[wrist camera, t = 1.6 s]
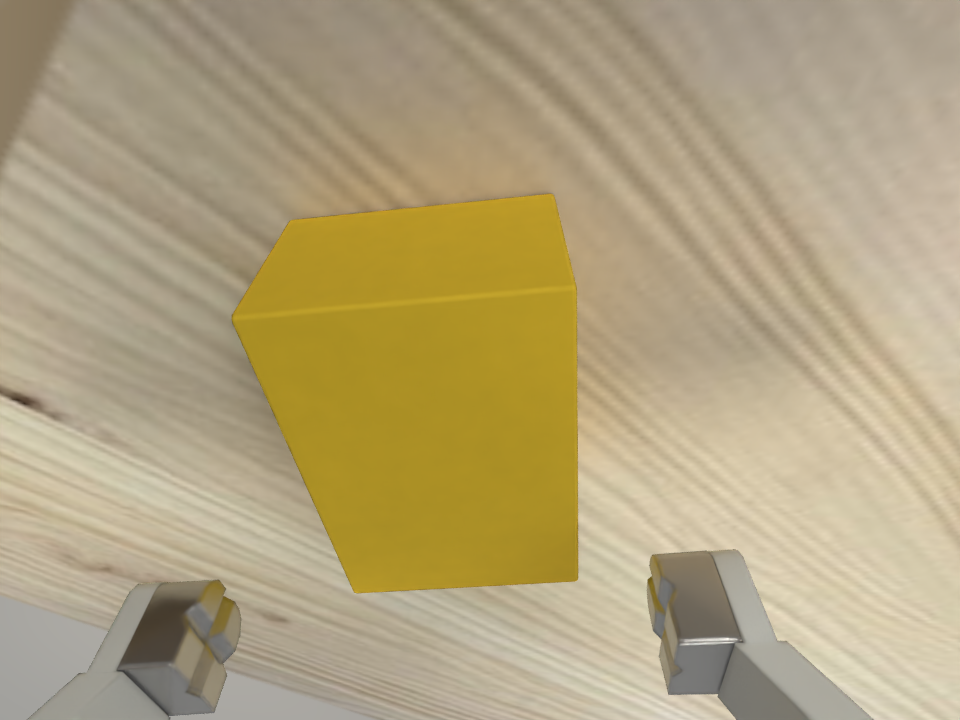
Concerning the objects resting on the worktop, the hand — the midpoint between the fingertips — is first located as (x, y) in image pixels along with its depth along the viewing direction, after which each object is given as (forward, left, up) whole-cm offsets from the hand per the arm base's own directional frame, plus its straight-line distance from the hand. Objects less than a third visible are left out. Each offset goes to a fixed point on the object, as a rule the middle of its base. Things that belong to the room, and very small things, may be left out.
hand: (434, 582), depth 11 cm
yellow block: (0, 0, -6) cm, 6 cm away
